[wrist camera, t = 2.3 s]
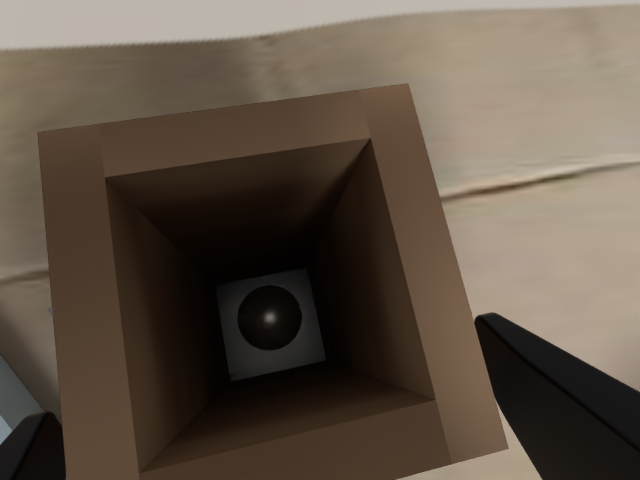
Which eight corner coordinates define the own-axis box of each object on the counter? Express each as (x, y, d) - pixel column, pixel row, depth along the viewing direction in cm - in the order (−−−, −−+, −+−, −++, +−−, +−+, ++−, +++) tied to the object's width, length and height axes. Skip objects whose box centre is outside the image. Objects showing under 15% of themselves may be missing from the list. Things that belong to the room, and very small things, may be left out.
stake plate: (252, 549, 17) (244, 639, 12) (61, 311, 18) (-20, 299, 13) (462, 334, 19) (528, 333, 14) (284, 140, 21) (289, 75, 16)
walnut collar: (350, 376, 17) (508, 448, 6) (212, 407, 17) (74, 567, 5) (322, 245, 18) (408, 83, 7) (191, 269, 18) (37, 132, 6)
